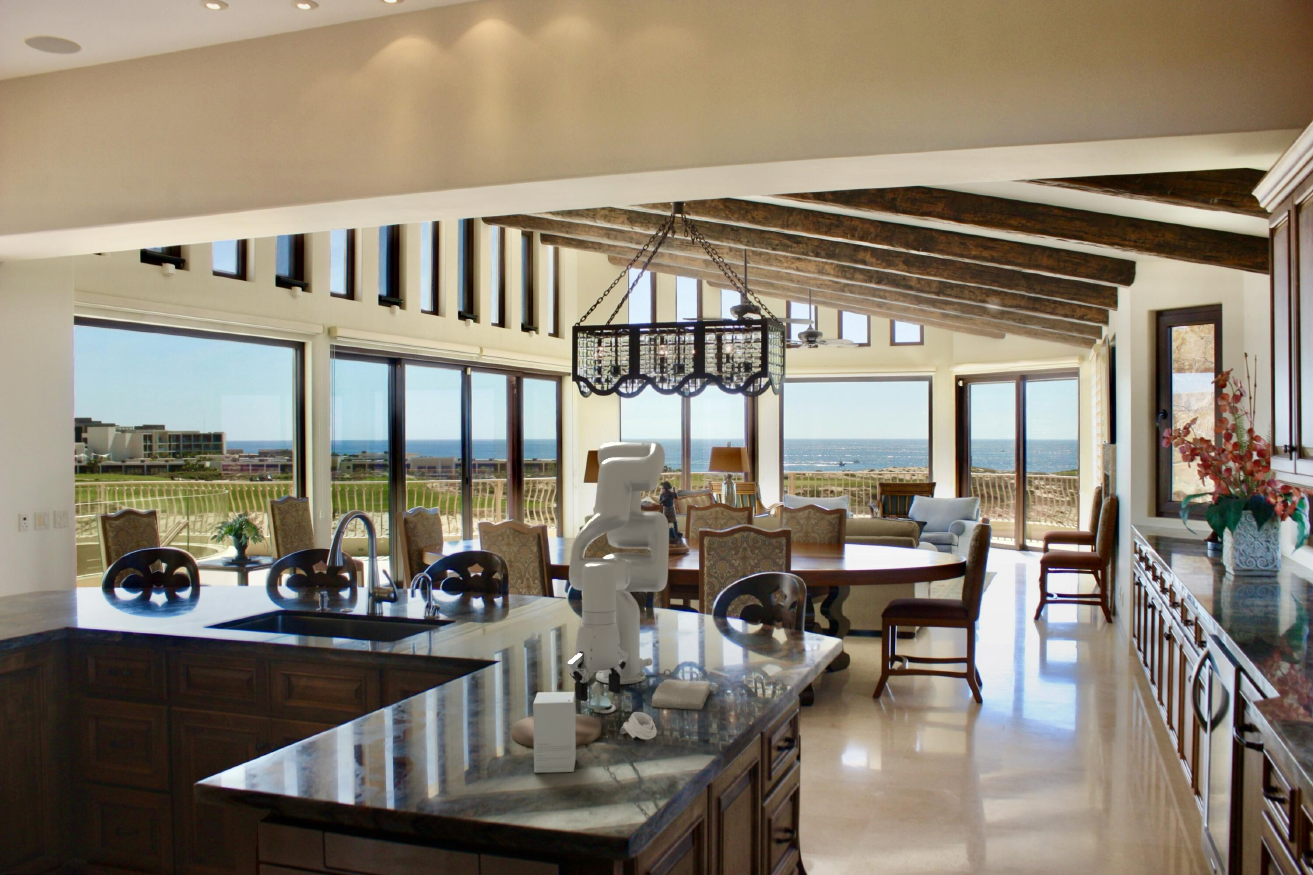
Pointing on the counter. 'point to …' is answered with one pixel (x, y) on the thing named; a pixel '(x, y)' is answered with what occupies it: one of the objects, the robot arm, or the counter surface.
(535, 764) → the supplement box
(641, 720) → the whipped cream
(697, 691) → the washcloth
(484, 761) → the counter surface
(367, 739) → the counter surface
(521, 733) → the walnut board
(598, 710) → the pacifier
